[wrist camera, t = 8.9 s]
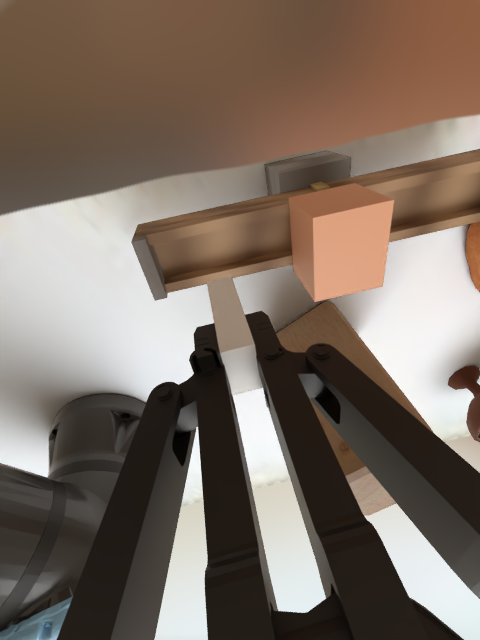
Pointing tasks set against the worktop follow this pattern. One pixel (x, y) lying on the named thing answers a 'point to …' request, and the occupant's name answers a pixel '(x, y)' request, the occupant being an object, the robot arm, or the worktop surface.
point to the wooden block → (338, 333)
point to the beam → (274, 217)
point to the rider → (340, 239)
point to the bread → (474, 252)
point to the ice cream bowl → (467, 378)
